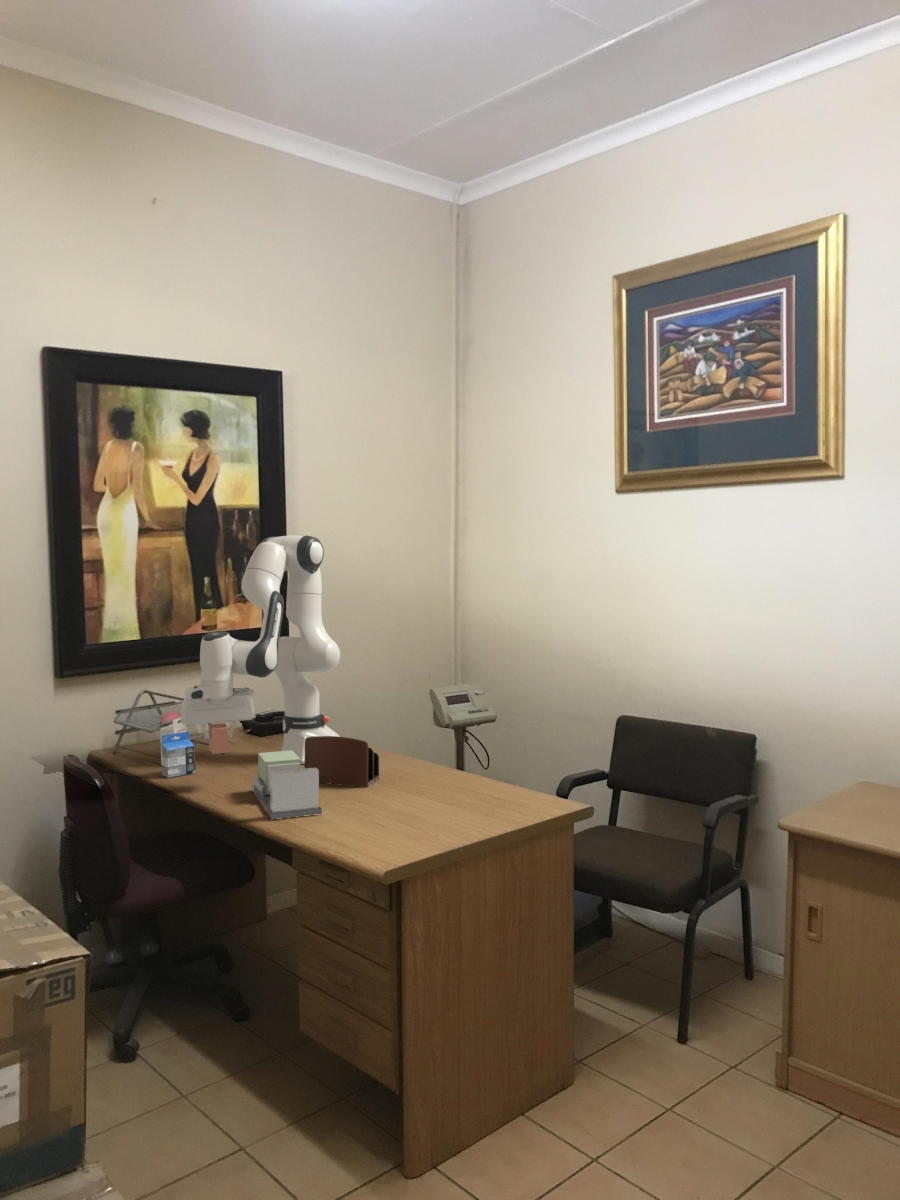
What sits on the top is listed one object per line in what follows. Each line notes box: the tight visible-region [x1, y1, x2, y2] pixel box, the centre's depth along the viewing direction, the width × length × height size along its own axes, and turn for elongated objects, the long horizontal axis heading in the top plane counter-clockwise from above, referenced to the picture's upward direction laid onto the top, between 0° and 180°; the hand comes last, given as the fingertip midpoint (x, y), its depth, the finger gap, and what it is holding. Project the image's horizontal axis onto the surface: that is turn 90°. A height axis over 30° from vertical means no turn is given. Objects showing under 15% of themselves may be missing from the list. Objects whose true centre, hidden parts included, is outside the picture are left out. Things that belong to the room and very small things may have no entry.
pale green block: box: [257, 750, 302, 795], centre depth 261 cm, size 12×10×9 cm
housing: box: [208, 722, 230, 755], centre depth 267 cm, size 4×7×7 cm, turn 21°
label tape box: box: [161, 730, 196, 779], centre depth 282 cm, size 9×4×12 cm, turn 131°
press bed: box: [251, 767, 323, 820], centre depth 254 cm, size 29×13×12 cm, turn 21°
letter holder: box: [304, 736, 380, 788], centre depth 276 cm, size 10×20×14 cm, turn 74°
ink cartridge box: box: [159, 716, 188, 765], centre depth 295 cm, size 9×5×15 cm, turn 168°
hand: (218, 737), depth 267 cm, fingers closed on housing, 4 cm apart
